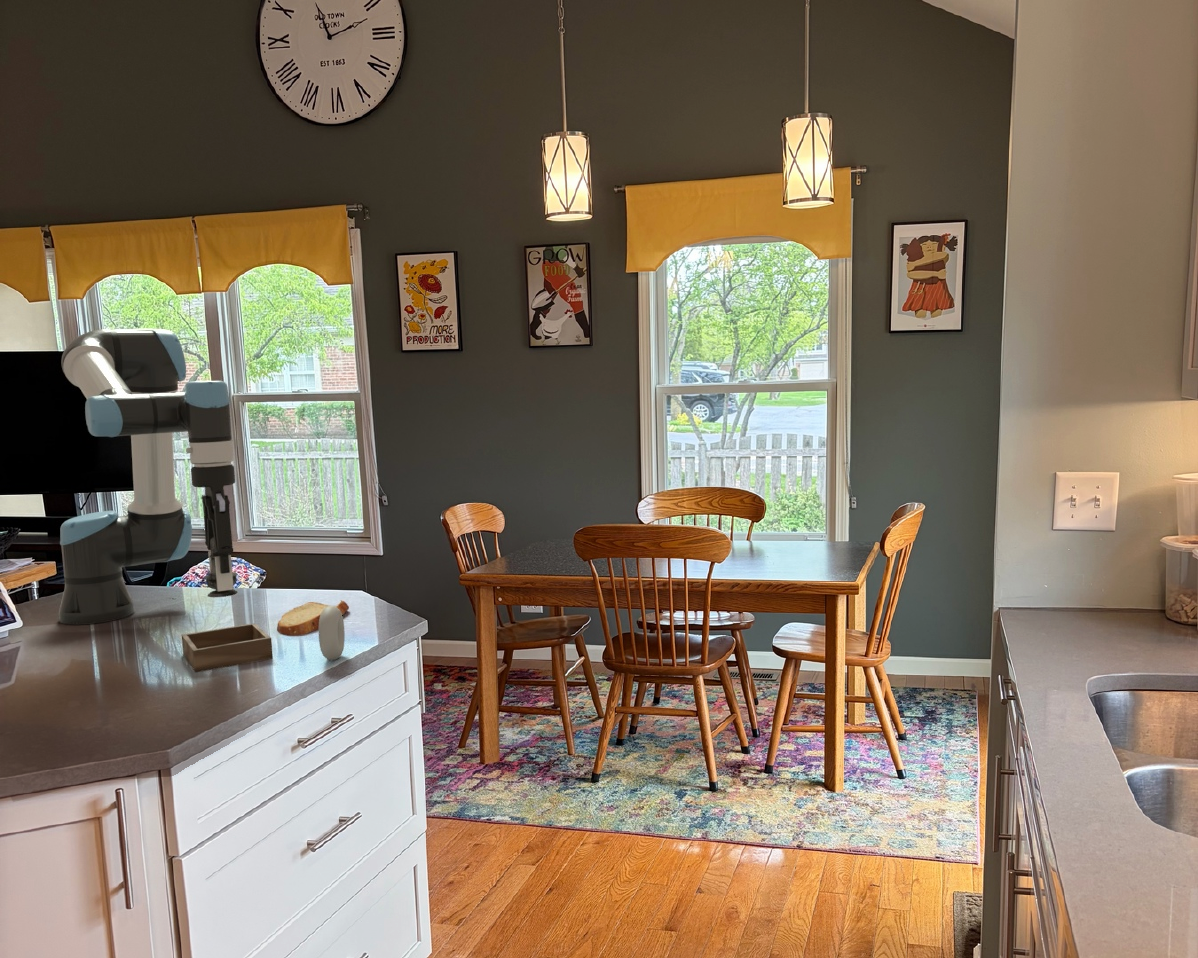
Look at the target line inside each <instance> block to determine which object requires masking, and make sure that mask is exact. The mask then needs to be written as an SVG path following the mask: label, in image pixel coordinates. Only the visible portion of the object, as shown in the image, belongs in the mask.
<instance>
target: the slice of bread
mask: <svg viewBox="0 0 1198 958" xmlns="http://www.w3.org/2000/svg"><path fill="white" fill-rule="evenodd" d="M329 606H331V605H329V604H324V603H320V602H315V601H309V602H306V603H304V604H301V605H300V606H297V607H293V609H291V610H289V611H287V612H285V613H284V614H283V615H281V618H280V619H279V620H278V622H277V626H276V632H278V633H279V634H280V635H284V636H290V637H291V636H292V637H293V636H302V635H307V634H310V633H312V632H315V631H318V630H319V619H320V615H321V613H322V611H323V610H324V609H325V608H326V607H329ZM334 606H335V607H337V608H338V609H339V610H340V611H341V613H342V615H343V616H344V615H345V613H346V612H348V610H349V609H350V607H349V605H348V603H347V602H346V601H344V600H340V602H339V603H338V604H336V605H334Z"/></svg>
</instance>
